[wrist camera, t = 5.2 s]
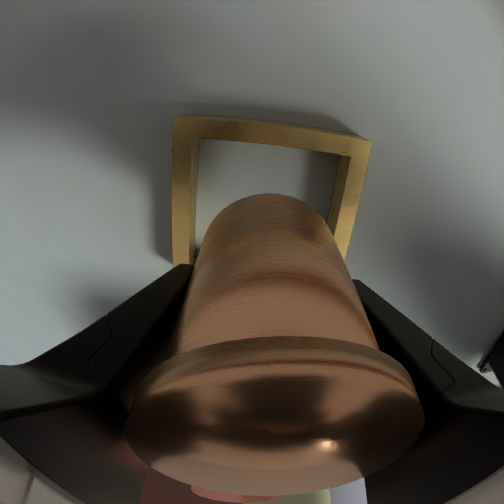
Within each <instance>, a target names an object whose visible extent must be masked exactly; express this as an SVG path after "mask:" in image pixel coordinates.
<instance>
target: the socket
mask: <svg viewBox="0 0 504 504" xmlns="http://www.w3.org/2000/svg"><path fill="white" fill-rule="evenodd" d="M199 139H214V140H228V141H240V142H251V143H260V144H270V145H278V146H286V147H294V148H301V149H308V150H315V151H321V152H327V153H333V154H339V155H340V160H339V165H338V171H337V176H336V181H335V186H334V191H333V196H332V201H331V206H330V211H329V215H328V220H327V225H328V227H329V229H330V231H331V233H332V235H333V238H334V240H335V242H336V244H337V246H338V249H339V251H340V253H341V255H342V258H343V260H344V259H345V256H346V252H347V248H348V245H349V241H350V237H351V233H352V229H353V226H354V222H355V218H356V214H357V210H358V205H359V201H360V197H361V193H362V188H363V184H364V179H365V175H366V170H367V165H368V160H369V155H370V150H371V145H372V142H371V141H369V140H367V139H365V138H363V137H361V136H357V135H352V134H347V133H342V132H337V131H332V130H326V129H320V128H314V127H308V126H301V125H294V124H287V123H279V122H270V121H261V120H252V119H241V118H228V117H213V116H191V115H182V116H179V117H176V118H174V125H173V150H172V249H173V268H174V267H176V266H177V265H179V264H181V263H184V264H192V265H194V266H195V263H196V260H197V257H195V220H196V187H197V164H198V145H199Z"/></svg>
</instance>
